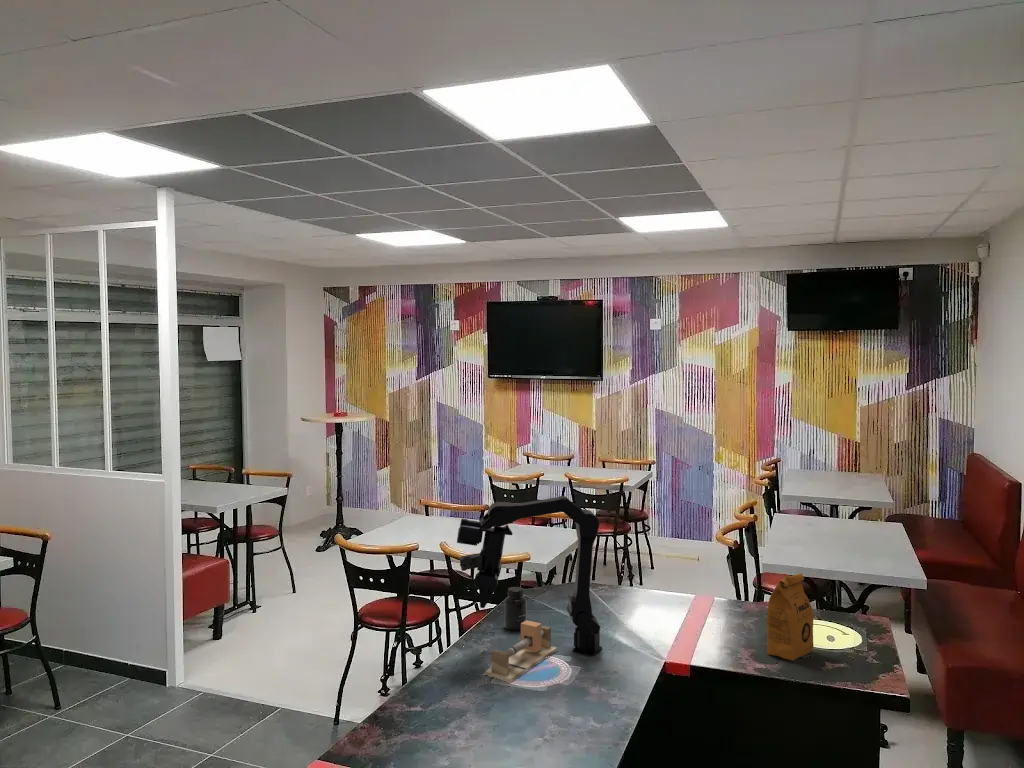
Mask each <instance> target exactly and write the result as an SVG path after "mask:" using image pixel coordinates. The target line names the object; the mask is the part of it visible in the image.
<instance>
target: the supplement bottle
mask: <svg viewBox="0 0 1024 768" xmlns="http://www.w3.org/2000/svg"><path fill="white" fill-rule="evenodd" d="M527 603H528V602H527V599H526V597H524V588H522V587H521V586H513V587H512V586H511V587H508V589H507V597H505V599H504V628H505V629H506V630H508V631H510V632H511V631H512V632H513V631H514V632H519V631H520V632H521V623H522V622H524V621H526V620H528V619H527V616H528V614H527V611H528V610H527V606H528V605H527Z"/></svg>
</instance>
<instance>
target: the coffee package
mask: <svg viewBox="0 0 1024 768" xmlns="http://www.w3.org/2000/svg"><path fill="white" fill-rule="evenodd" d="M804 580H805V577H804V575H803V573H798V574H794V575H789V576H785V577H784V578H782V579H781V580H779V581H778V583H777V584H776V586H775V587H774V589H773V591H772V592H771V593H770V597H769V599H768V604H767V614H766V615H767V616H766V617H767V618H766V619H767V620H766V635H767V636H766V638H767V639H766V640H767V642H766V643H767V648H766V649H767V655H769V656H770V655H771V656H775V657H780V658H782V659H783V660H790V661H795V660H797V659H799V658H801V657H804V656H806V655H808V654H811V653H812V652H813V650H814V648H815V647H814V611H813V607H812V604H811V602H810V599H809V598H808V595H807V594H806V593H805V590H804V588H803V584H802V582H803V581H804Z"/></svg>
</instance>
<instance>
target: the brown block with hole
mask: <svg viewBox="0 0 1024 768" xmlns="http://www.w3.org/2000/svg"><path fill="white" fill-rule="evenodd" d="M541 625H542V623H540V622H535V621H532V620H528V619H527V620H526V621H524V622H522V623H521V630H520V641H522V640H524V639H525V638H527V637H532V644H530V645H528V646H527V647H525V648H524V649H526V650H530V651H534V652H537V651H538V650H540V649H542V634H541Z"/></svg>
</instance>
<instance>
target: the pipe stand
mask: <svg viewBox="0 0 1024 768" xmlns="http://www.w3.org/2000/svg"><path fill="white" fill-rule="evenodd" d="M541 634H542V649H540V650H538V651H537V652H534V651H530V650H526V649H524V648H525V647H527V646H528V645H530V644H532V637H527V638H525V639H524V640H522V641H521V640H520V641H519V642H517V643H515V644H514V645H512V646H510V647H508V648H507V649H506V650H504V651H501V650H496V649H494V650H492V651H491V652H490V654H491V655H490V656H491V661H490V662H491V665H490V668H488V669H487V670H485V671H484V676H485V675H488V676H487V677H489V676H490V678H492V677H494V678H493V679H496V678H497V679H496V680H499V679H500V681H504V682H506V681H508V683H510V682H511V683H512V682H513V680H514V681H515V680H516V678H517V677H518V678H519V676H520V675H521V676H523V675H524V674H525V672H526V671H527V670H528V671H530V670H531V669H533V668H534V667H536V666H537V665H538V663H539V662H540V663H541V661H542V660H543V659H545V658H546V657H548V656H549V657H551V656H553V653H554V652H555V653H557V652H558V647H556V646H552V627H549V626H546V625H542V624H541ZM556 651H557V652H556ZM555 653H554V654H555ZM550 655H551V656H550ZM549 657H548V658H549ZM546 659H547V658H546ZM546 659H545V660H546ZM543 661H544V660H543ZM543 661H542V662H543ZM540 663H539V664H540ZM536 664H537V665H536ZM535 665H536V666H535ZM533 666H534V667H533ZM532 667H533V668H532ZM530 668H531V669H530ZM529 669H530V670H529ZM528 671H527V672H528ZM527 672H526V673H527ZM523 673H524V674H523ZM522 674H523V675H522ZM521 676H520V677H521ZM518 678H517V679H518Z"/></svg>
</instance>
